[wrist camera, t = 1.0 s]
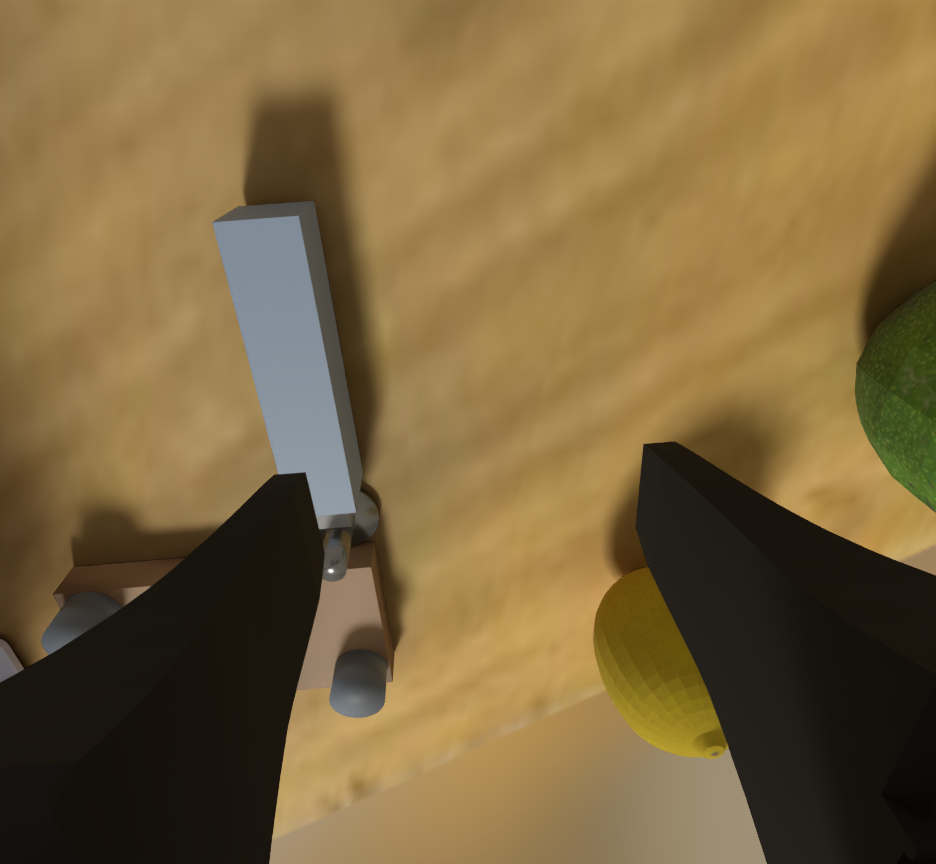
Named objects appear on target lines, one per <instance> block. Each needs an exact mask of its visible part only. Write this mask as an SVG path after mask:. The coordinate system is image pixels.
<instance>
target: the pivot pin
mask: <svg viewBox="0 0 936 864" xmlns="http://www.w3.org/2000/svg"><path fill="white" fill-rule="evenodd" d="M378 523H379V509H378V506H377V503H376V502H375V500H374V499H373V498H372V496H371V495H369V494H368V493H367V492H366V491H364V490H362V489H360V493H359V499H358V504H357V510H356V513H354V516H353V522H352V526H351V527H339V528H327V529H319V531H320V535H321V539H322V541H323V548H324V552H325V557H324V567H323V576H322V579H323V580H326V581H329V582H335V581H339V580H341V579H342V578H344V576H345V575H346V571H347V565H348V559H349V553H350V547H351V546H355V545H358V544H361V543H363V542H365V541H366V540H368V539H369V538H370V537H371V536H372V535H373V534H374V533H375V531H376V529H377V527H378Z"/></svg>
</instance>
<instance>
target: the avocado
mask: <svg viewBox="0 0 936 864" xmlns="http://www.w3.org/2000/svg"><path fill="white" fill-rule="evenodd" d="M855 397H856V405H857V410H858V414H859V418H860V421H861V424H862V426H863V429H864V431H865V433H866V435H867V438H868V440H869V442H870V443H871V445H872V447H873V448H874V450H875V451H876V453H877V454H878V456H879V457H880V459H881V461H882V462H883V464H884V465H885V467H886V468H887V470H888V471H889V473H890V475H891V476H892V477H893V478H894V479H896V480H897V481H898V482H899V483H900V484H902V485H903V486H904V487H905V488H906V489H907V490H909V491H910V492H911V493H912V494H913V495H914V496H916V497H917V498H918V499H919V500H921V501H922V502H923V503H925V504H926V505H927V506H928V507H929V508H931V509H932V510H933V511H934V512H935V513H936V280H935V281H933V282H932V283H930V284H928V285H927V286H925V287H924V288H922V289H920V290H919V291H917V292H915V293H914V294H912V295H911V296H910V297H909V298H908V299H906V300H905V301H904V302H903V303H902V304H901V305H900V306H899V307H898V308H897V309H895V310H894V311H893V312H892V313H891V314H890V315H889V316H888V317H887V318H886V319H884V320H883V321H882V322H881V323H880V324H879V325H878V326H877V327H876V328H875V330H874V332H873V334H872V336H871V338H870V340H869V341H868V343H867V345H866V347H865V349H864V351H863V353H862V354H861V356H860V358H859V360H858V362H857V367H856V383H855Z"/></svg>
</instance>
